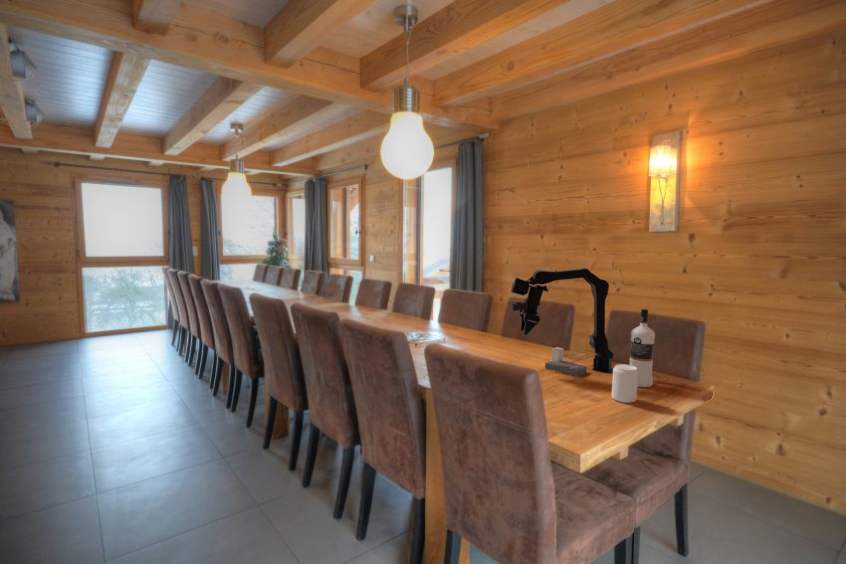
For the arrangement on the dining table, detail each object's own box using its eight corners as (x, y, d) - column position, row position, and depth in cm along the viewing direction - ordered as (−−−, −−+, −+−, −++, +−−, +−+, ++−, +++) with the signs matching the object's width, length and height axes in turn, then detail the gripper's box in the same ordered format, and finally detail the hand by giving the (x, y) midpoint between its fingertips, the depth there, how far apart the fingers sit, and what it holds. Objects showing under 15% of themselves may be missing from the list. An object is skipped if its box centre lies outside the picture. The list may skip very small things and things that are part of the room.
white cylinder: (637, 405, 155) (639, 371, 154) (612, 402, 158) (614, 368, 156) (634, 397, 163) (636, 365, 162) (610, 394, 165) (612, 362, 164)
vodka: (657, 386, 175) (663, 310, 172) (642, 389, 171) (647, 311, 168) (636, 379, 184) (641, 306, 180) (621, 382, 179) (626, 308, 176)
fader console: (586, 372, 192) (586, 364, 192) (577, 376, 186) (578, 368, 186) (554, 364, 202) (554, 357, 202) (545, 368, 197) (545, 360, 196)
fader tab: (562, 362, 197) (563, 348, 197) (557, 364, 194) (558, 350, 193) (556, 360, 199) (557, 347, 199) (551, 362, 196) (552, 348, 196)
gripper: (512, 291, 204) (503, 323, 206) (518, 296, 185) (508, 332, 187) (536, 297, 204) (526, 330, 205) (545, 303, 185) (534, 339, 187)
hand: (523, 332), depth 196 cm, fingers open, 9 cm apart
